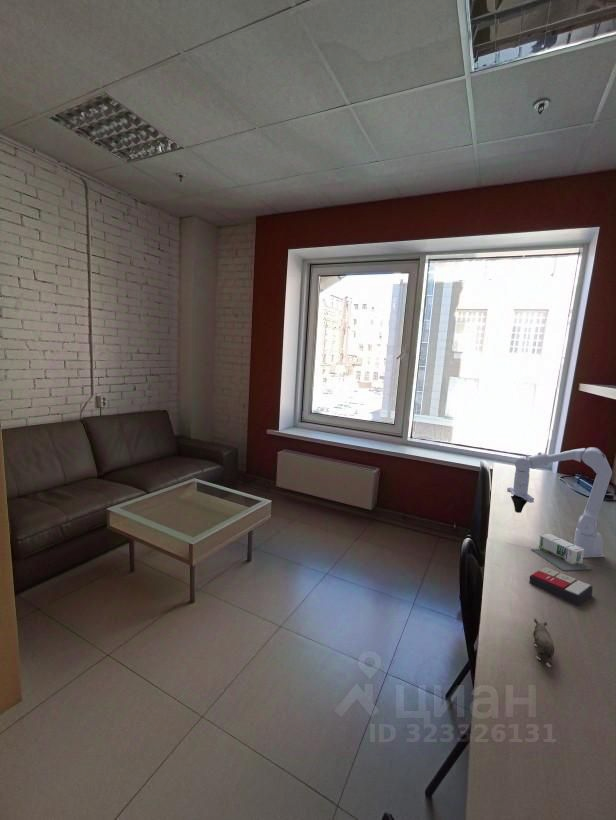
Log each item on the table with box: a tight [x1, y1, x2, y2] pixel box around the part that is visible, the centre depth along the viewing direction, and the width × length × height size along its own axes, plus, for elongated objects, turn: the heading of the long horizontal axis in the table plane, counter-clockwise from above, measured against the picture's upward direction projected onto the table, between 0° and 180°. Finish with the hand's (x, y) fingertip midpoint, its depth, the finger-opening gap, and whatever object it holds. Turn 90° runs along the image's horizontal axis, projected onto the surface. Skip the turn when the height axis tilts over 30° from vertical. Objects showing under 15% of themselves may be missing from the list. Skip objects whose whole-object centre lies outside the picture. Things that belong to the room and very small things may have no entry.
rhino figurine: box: [532, 618, 555, 664], centre depth 97 cm, size 4×14×6 cm, turn 155°
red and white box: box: [528, 566, 593, 607], centre depth 125 cm, size 11×4×15 cm
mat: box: [531, 548, 592, 572], centre depth 145 cm, size 12×16×1 cm
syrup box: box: [538, 533, 584, 565], centre depth 147 cm, size 6×6×14 cm
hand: (518, 512), depth 166 cm, fingers closed
